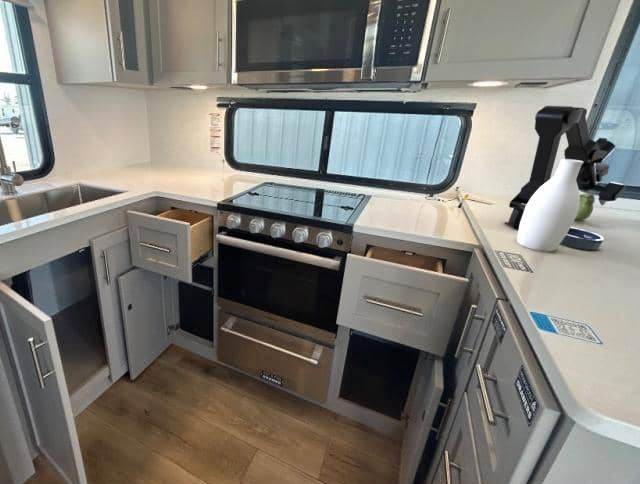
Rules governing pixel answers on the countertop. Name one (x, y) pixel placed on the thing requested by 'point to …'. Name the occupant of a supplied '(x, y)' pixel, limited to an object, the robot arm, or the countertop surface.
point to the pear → (585, 206)
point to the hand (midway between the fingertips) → (587, 200)
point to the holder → (582, 239)
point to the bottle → (551, 209)
